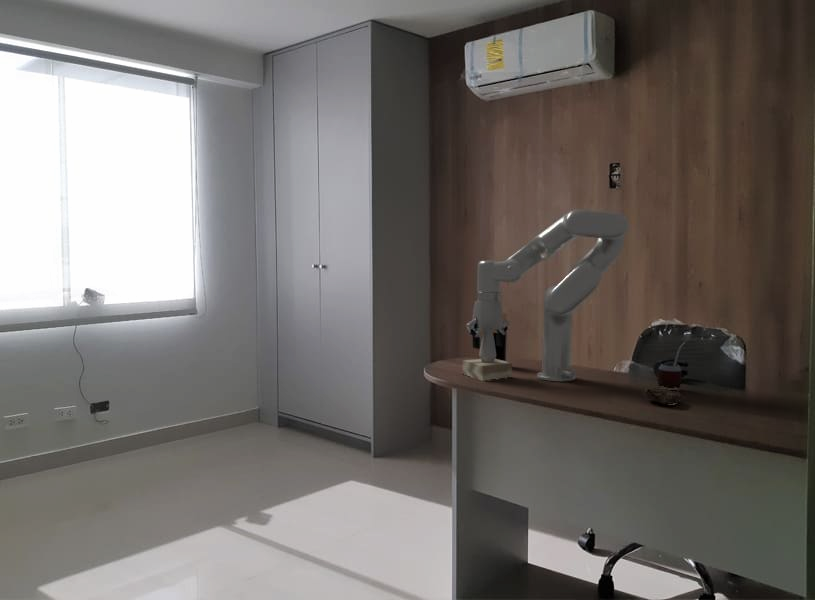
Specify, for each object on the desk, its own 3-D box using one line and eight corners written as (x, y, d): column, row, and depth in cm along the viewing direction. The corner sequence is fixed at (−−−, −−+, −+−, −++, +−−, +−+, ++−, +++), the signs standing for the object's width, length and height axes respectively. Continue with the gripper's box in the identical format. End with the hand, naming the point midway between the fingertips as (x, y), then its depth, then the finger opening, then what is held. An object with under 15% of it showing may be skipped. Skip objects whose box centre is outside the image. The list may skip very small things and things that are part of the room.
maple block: (511, 377, 230) (512, 363, 229) (482, 381, 224) (482, 366, 223) (490, 371, 240) (490, 357, 240) (462, 374, 234) (462, 360, 234)
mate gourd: (655, 391, 211) (657, 343, 210) (658, 386, 218) (660, 339, 217) (681, 393, 208) (683, 344, 207) (683, 388, 215) (685, 341, 214)
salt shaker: (478, 362, 229) (479, 324, 228) (479, 359, 235) (479, 322, 234) (496, 363, 228) (496, 325, 227) (496, 360, 234) (496, 322, 233)
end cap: (669, 376, 235) (670, 356, 235) (688, 379, 230) (689, 359, 229) (652, 379, 229) (653, 359, 229) (671, 383, 224) (672, 362, 223)
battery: (503, 364, 254) (504, 311, 252) (507, 367, 247) (509, 313, 245) (484, 364, 254) (485, 311, 252) (488, 368, 247) (489, 313, 245)
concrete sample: (667, 410, 188) (667, 392, 187) (636, 402, 196) (637, 385, 196) (691, 404, 194) (692, 387, 194) (660, 397, 203) (661, 381, 202)
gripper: (502, 295, 237) (501, 343, 238) (460, 297, 229) (460, 347, 230) (515, 296, 230) (515, 346, 232) (473, 299, 222) (473, 350, 224)
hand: (488, 347), depth 231 cm, fingers open, 9 cm apart
